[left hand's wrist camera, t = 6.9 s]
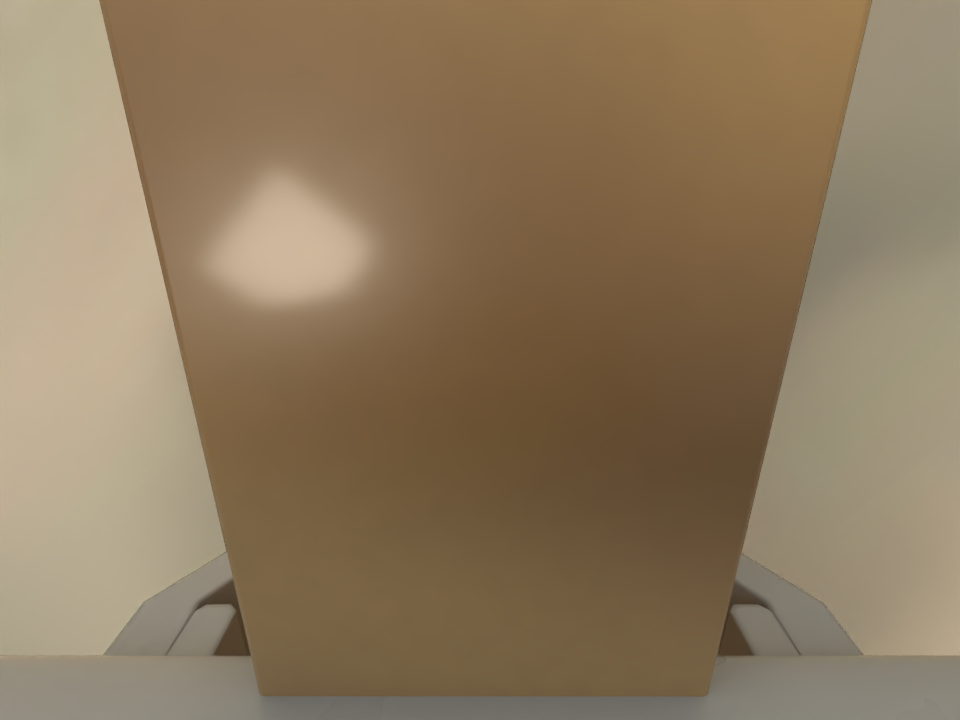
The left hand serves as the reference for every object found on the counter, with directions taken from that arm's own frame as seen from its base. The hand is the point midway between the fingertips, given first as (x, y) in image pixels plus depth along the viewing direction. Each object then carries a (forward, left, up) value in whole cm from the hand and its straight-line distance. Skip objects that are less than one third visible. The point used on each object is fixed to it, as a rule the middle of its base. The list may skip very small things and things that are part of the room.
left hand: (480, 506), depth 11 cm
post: (+33, -15, -3) cm, 36 cm away
